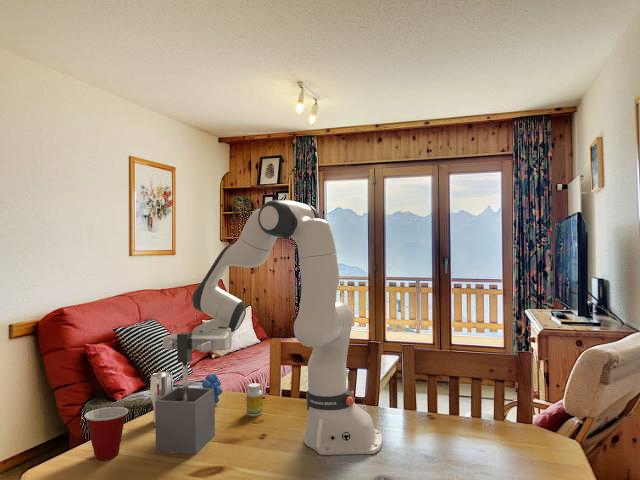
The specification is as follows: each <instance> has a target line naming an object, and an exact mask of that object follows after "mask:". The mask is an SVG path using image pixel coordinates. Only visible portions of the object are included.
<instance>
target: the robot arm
mask: <svg viewBox="0 0 640 480" xmlns="http://www.w3.org/2000/svg"><path fill="white" fill-rule="evenodd" d="M332 232H333V231H332V228H331V226H330V223H328V221H326V220H325V219H322V218H320V215H319V212H318V210H317V209H316V208H315V207H314V206H313V205H311V204H308V203H305V202H298V201H295V200H289V199H287V200H286V199H283V200H281V199H272V200H270V201H267V202H265V203H264V204H262V205H261V207H260V208H257V209H255V210H254V211H253V212H252V213H251V215H250V216H249V217H248V219H247V221H246V222H245V225H244V227H243V228H242V231H241V232H240V235H239V237H238V239H237V240H236V241H235V243H233V244H227V245H226V246H225V247H224V248H223V249H222V250H221V251H220V253H219V254H218V256H217V257H216V259H215V260H214V262H213V263H212V265H211V267H210V268H209V269H208V271H207V273H206V274H205V276H204V278H203V279H202V280H201V282H200V284H199V285H198V286H197V287H196V289H195V290H194V292H193V294H192V295H191V303H192V306H193V308H194V310H197V311H199V312H200V313H202V314H206V316H209V317H210V318H212V320H210V321H206V322H205V323H201V324H198V325H196V326H195V327H194V328H193V330H192V331H191V332H192V351H193V350H195V351H198V352H199V353H210V352H214V351H227V350H229V349H231V348H232V343H233V341H232V339H233V337H234V334H235V333H236V331H237V330H238V329H240V327H241V325H242V324H243V322H244V320H245V317H246V314H247V313H246V312H247V311H246V310H247V309H246V304H245V302H244V301H243V300H242V299H240V298H238V297H237V296H235V295H233V294H231V293H229V292H227V291H226V290H224V289H222V288H221V287H220V286H219V285H218V283H219V281H220V280H221V278H222V277H223V275H224V274H225V272H226V270H227V269H228V268H229V267H240V268H245V269H246V268H250V269H251V268H256V267H260V266H261V265H264V264H265V263H266V262H267V260H268V259H269V257H270V255H271V252H272V251H273V248H274V246H275V243H276V241H277V239H278V238H281V239H285V240H286V239H289V238H291V239H293V240H294V241H295V243H296V246H297V251H298V261H299V271H300V280H301V289H300V291H301V293H300V301H299V309H298V314H297V316H296V318H295V321H294V323H293V334H294V337H295V339H296V340H297V341H298V343H300V344H301V345H302V346H304V347H306V348H307V347H308V348H312V351H311V355H310V357H309V359H308V362H307V387H308V388H307V391H306V397H305V399H306V400H305V401H306V409H307V418H306V419H307V420H306V427H305V432H304V437H303V443H304V444H305V445H306V446H307V447H309V448H311V449H313V450H315V452H316V453H317V454H319V455H321V456H327V455H328V456H330V455H337V456H338V455H364V454H365V455H371V454H375V453H378V452H379V451H380V449H381V448H382V446H383V443H384V442H383V435H382V433H381V431H380V430H379V429H377V428H375V425H374V424H375V423H374V421H373V419H372V416H371V415H370V413H368V412H367V411H365V410H364V409H363V408H361V407H360V406H359V405H358V404H356V403H355V402H354V401H355V395H354V390H353V389H352V390H351V391H350V389H348V388H347V358H348V352H349V345H350V340H351V338H350V337H351V331H352V328H353V326H354V323H355V314H354V312H353V309H352V308H351V306H349V305H348V304H347V303H346V302H341V301H338V300H337V293H338V292H337V291H338V287H339V285H340V279H341V278H340V271H339V264H338V263H339V262H338V256H337V249H336V244H335V243H336V242H335V240H334V235H333V233H332ZM179 333H180V332H178V333H176V332H175V333H173V334H169V335H165V336H164V337H163V338H162V347H163V349H165V350H167V351H173V350H177V334H179Z"/></svg>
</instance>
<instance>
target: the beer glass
mask: <svg viewBox="0 0 640 480" xmlns="http://www.w3.org/2000/svg"><path fill="white" fill-rule="evenodd" d="M173 389H174V380H173V373H172V372H171V371H159V372H155V373H152V374H151V375H150V398H151V403H152V407H153V415H152V423H153V425H154V424H155V401H156V400H157V399H159V398H161V397H162V396H164V395H165V394H167V393H169V392H170V391H172V390H173Z"/></svg>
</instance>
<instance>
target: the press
mask: <svg viewBox="0 0 640 480" xmlns="http://www.w3.org/2000/svg"><path fill="white" fill-rule="evenodd" d="M179 400H180V401H179ZM188 401H194V402H184V401H183V386H176V387H175V388H173V390H172V391H170V392H169V393H167V394H165V395H164V396H162V397H161V398H159V399H157V400H156V401H155V426H154V427H155V452H156V453H168V454H169V453H170V454H181V455H182V454H183V455H197V454H199V452H200V451H202V449H204V448H205V446H206V445H208V443H209V442H210V441H211V440H212V439H213V438H214V437H215V436H216V421H215V420H216V416H215V415H216V413H215V406H214V389H209V388H203V387H188Z"/></svg>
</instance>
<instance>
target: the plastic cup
mask: <svg viewBox="0 0 640 480" xmlns="http://www.w3.org/2000/svg"><path fill="white" fill-rule="evenodd" d="M129 412H130V411H129V409H128V408H126V407H121V406H111V407H109V406H108V407H101V408H97V409H93V410H90V411H88V412H86V413H85V414H84V418H85V419H86V423H87V427H88V431H89V436H90V441H91V446H92V451H93V455H94V457H95V460H96V461H108V460H111V459H115V458H116V457H117V456H119V452H120V447H121V442H122V437H123V432H124V425H125V420H126V418H127V414H128V413H129Z"/></svg>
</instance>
